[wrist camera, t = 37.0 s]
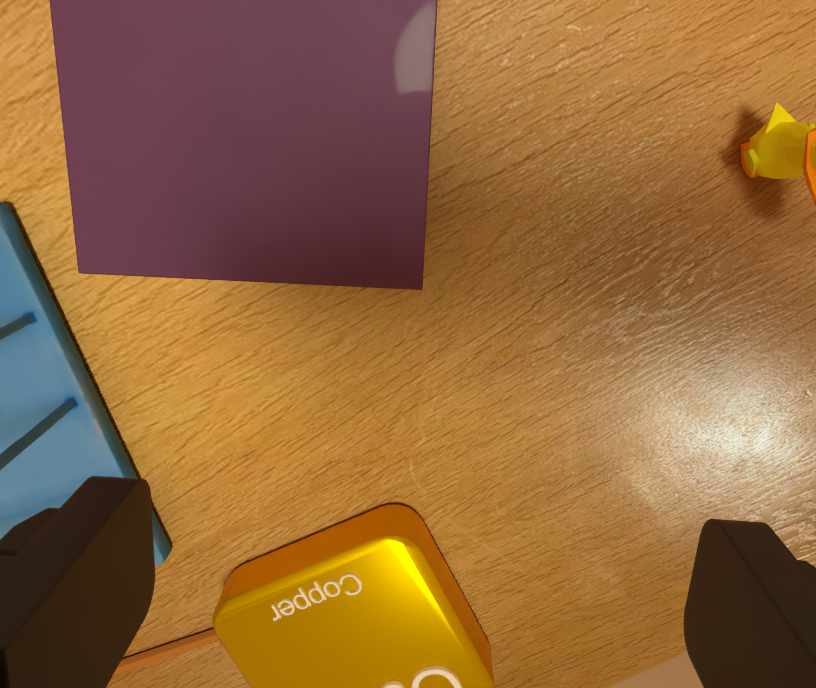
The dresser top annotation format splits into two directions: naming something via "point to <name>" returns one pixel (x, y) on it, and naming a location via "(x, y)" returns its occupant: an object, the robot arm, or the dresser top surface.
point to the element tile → (354, 612)
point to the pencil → (166, 651)
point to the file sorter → (47, 399)
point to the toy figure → (782, 150)
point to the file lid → (248, 137)
